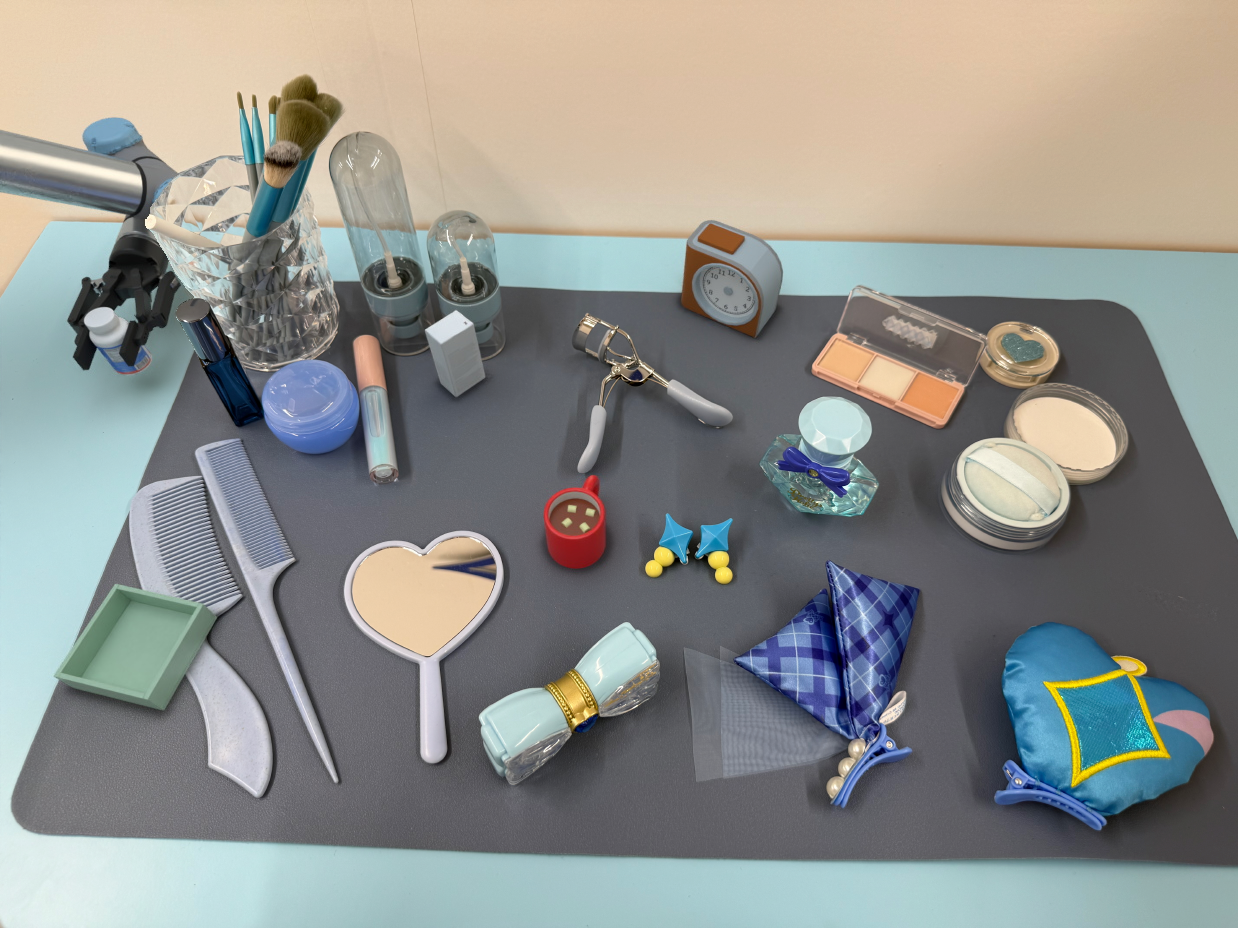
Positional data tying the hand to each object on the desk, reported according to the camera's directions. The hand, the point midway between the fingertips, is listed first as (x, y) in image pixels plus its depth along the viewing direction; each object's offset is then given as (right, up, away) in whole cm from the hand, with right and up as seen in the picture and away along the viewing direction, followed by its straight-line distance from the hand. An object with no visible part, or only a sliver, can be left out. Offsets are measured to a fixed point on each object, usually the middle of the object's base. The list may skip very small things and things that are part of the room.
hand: (103, 361), depth 108 cm
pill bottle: (-1, +1, +8) cm, 8 cm away
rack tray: (+14, -38, -13) cm, 42 cm away
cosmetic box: (+48, -1, +13) cm, 50 cm away
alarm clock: (+91, +12, +23) cm, 94 cm away
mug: (+67, -24, -2) cm, 71 cm away
